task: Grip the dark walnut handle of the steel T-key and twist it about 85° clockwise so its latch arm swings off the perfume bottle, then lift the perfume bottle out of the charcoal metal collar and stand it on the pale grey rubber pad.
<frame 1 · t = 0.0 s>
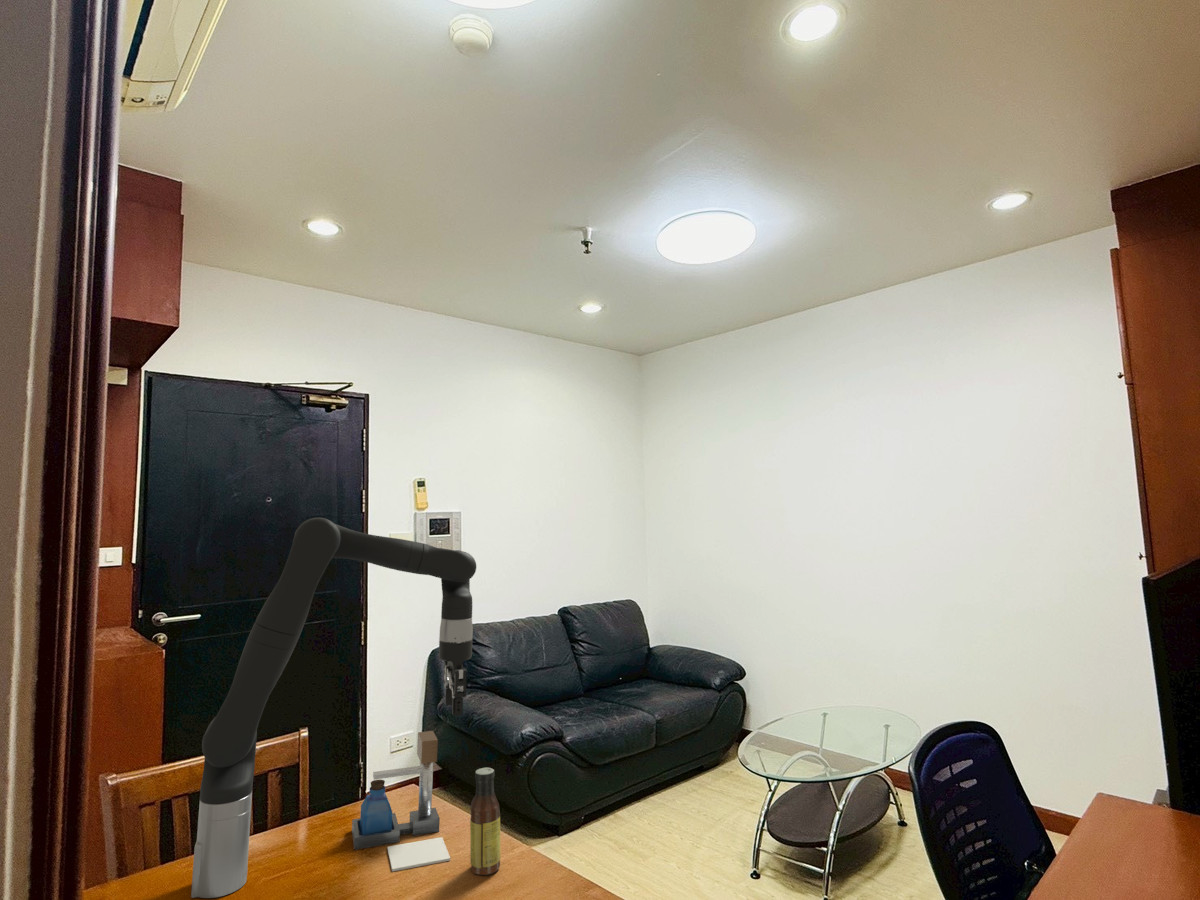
hand: (453, 709, 152), 29 cm above the table, fingers open, 8 cm apart
sauce bottle: (484, 870, 139), on the table
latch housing: (375, 836, 152), on the table
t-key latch: (404, 777, 156), point 12 cm above the table, hinge at 0.0°
perfume bottle: (375, 837, 152), resting in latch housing
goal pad: (418, 854, 144), on the table
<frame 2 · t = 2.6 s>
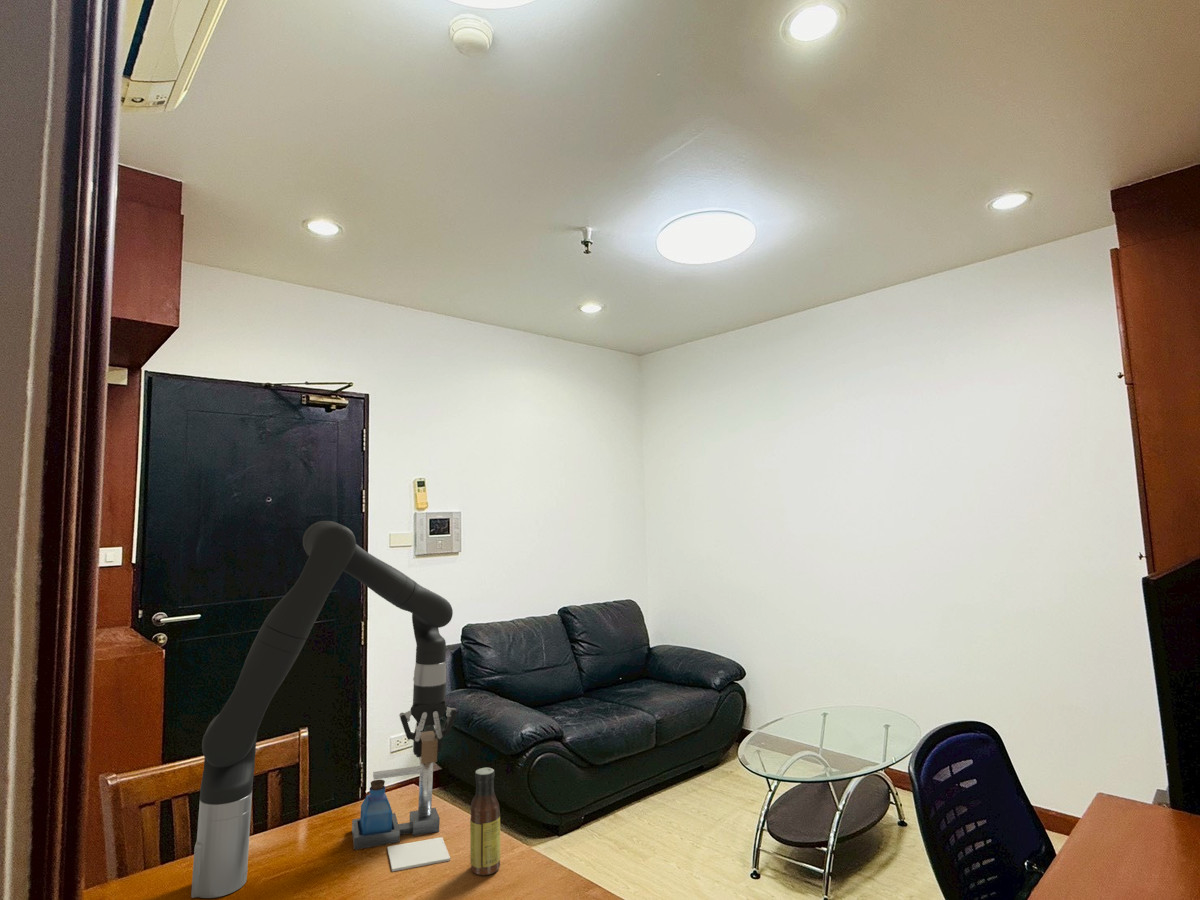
hand: (427, 754, 158), 17 cm above the table, fingers closed on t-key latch, 3 cm apart
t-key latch: (404, 777, 156), point 12 cm above the table, hinge at 0.0°, touching gripper
everything else where it was.
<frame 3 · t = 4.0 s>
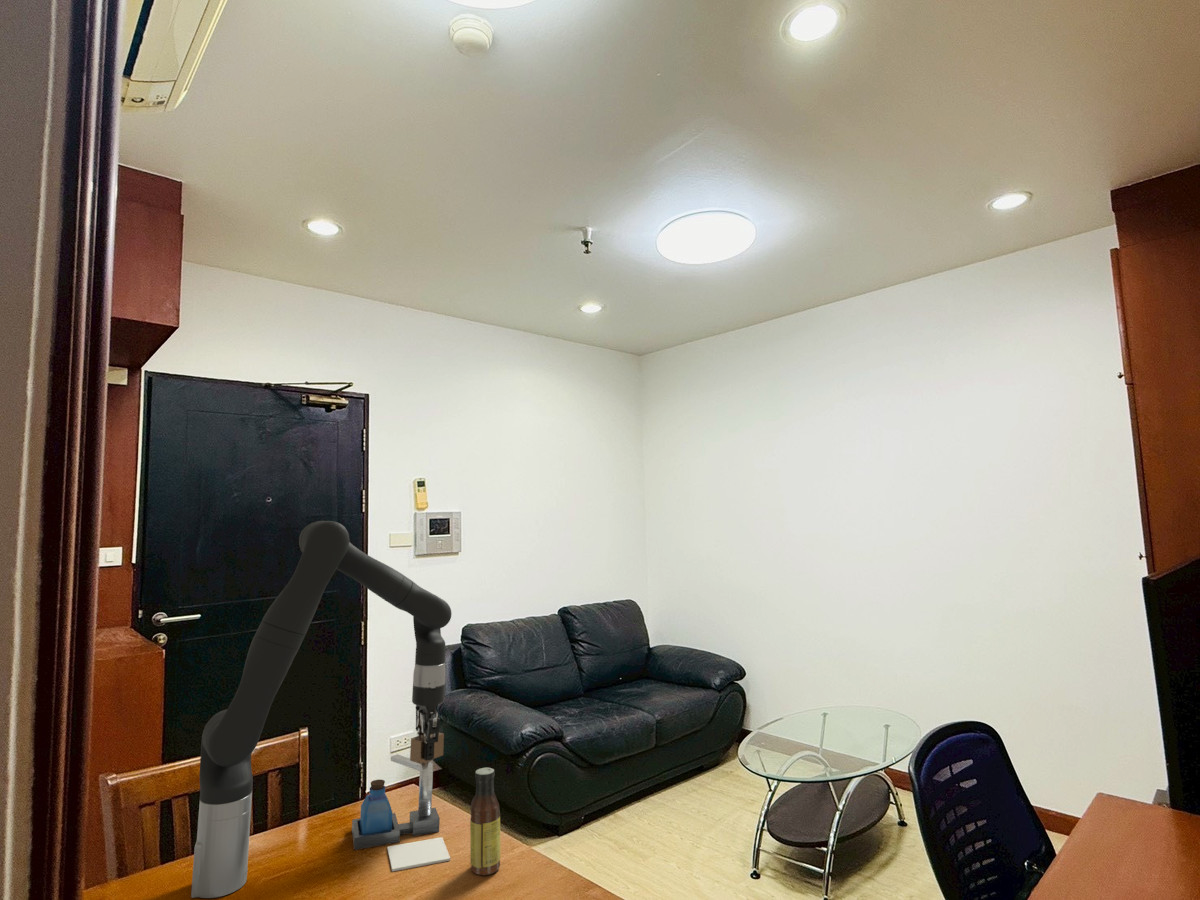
hand: (425, 755, 158), 17 cm above the table, fingers closed on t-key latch, 5 cm apart
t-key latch: (412, 769, 160), point 12 cm above the table, hinge at -58.1°, touching gripper
everything else where it was.
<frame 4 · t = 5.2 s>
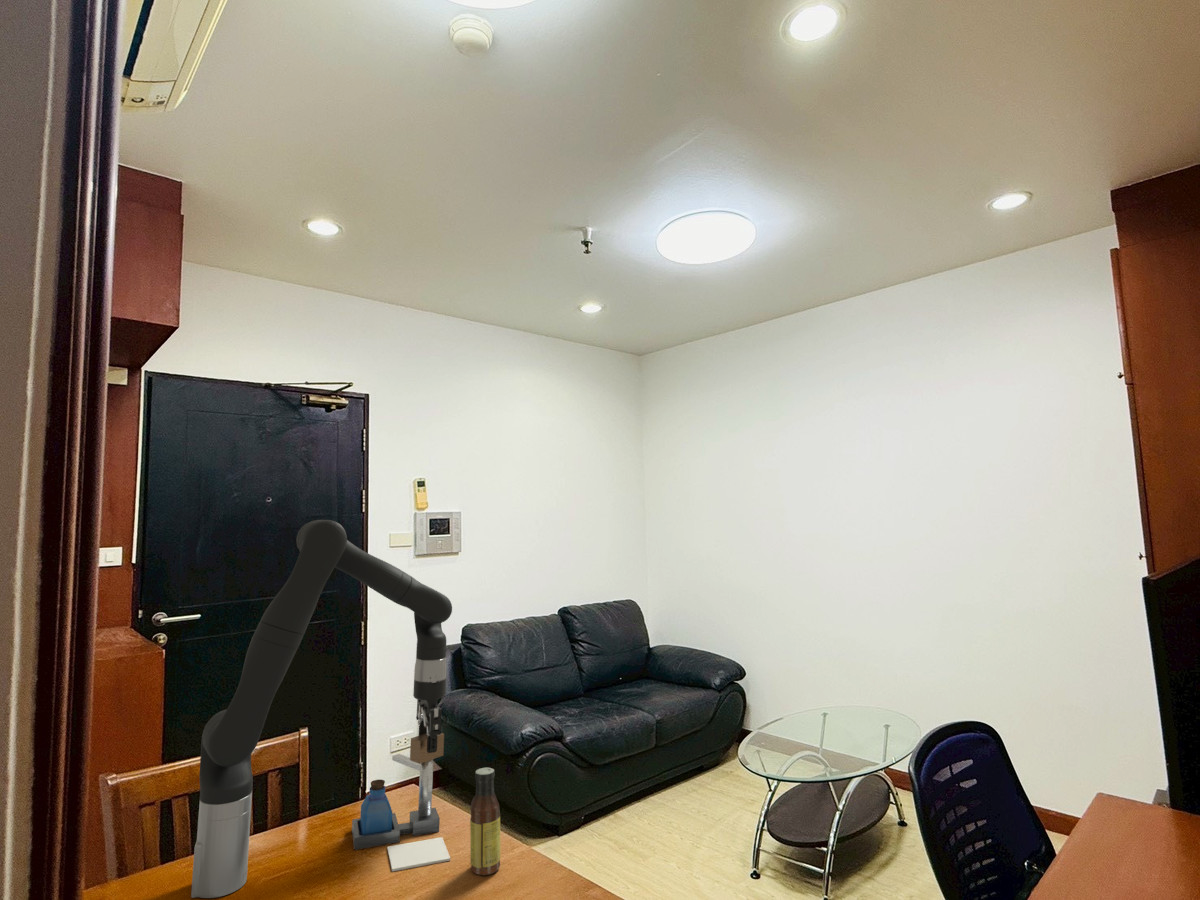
hand: (427, 746, 158), 19 cm above the table, fingers open, 8 cm apart
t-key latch: (412, 769, 161), point 12 cm above the table, hinge at -60.4°
everything else where it was.
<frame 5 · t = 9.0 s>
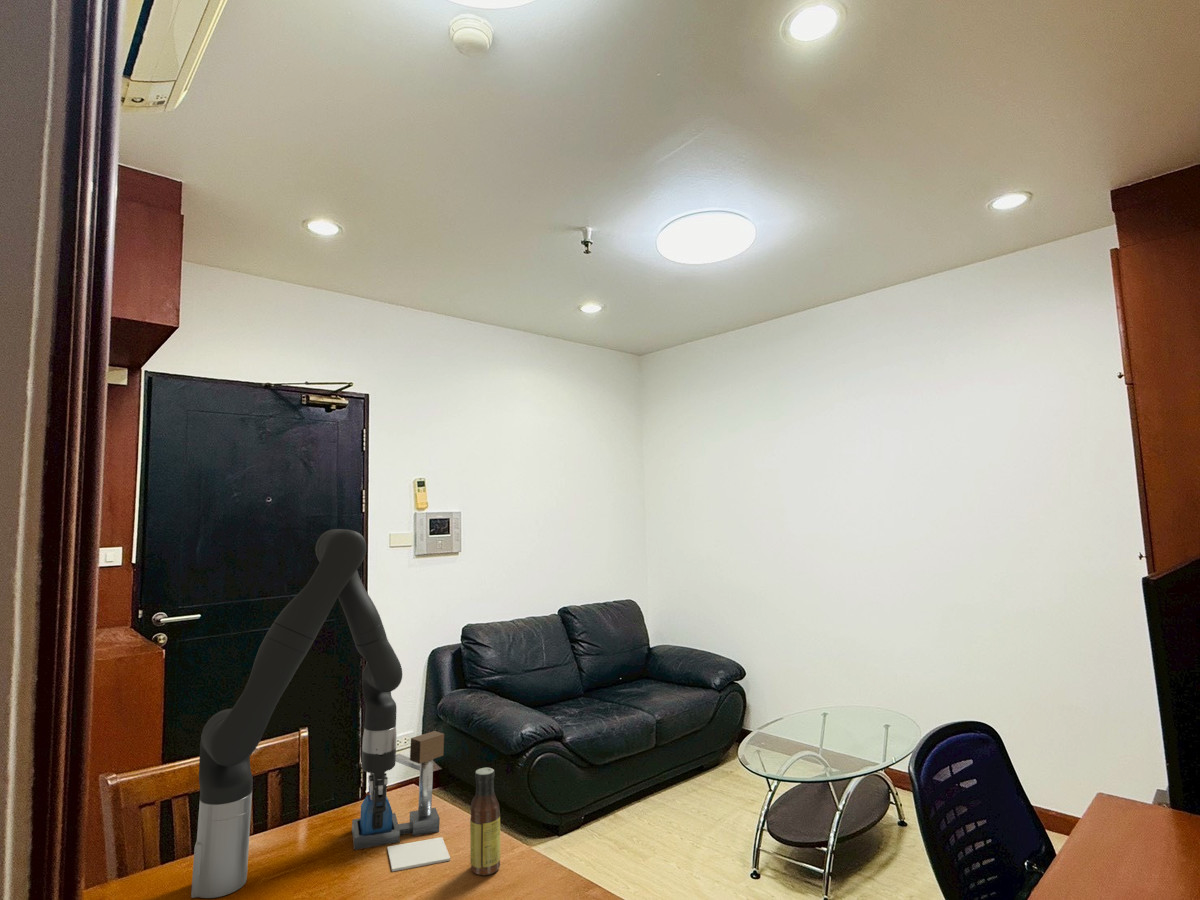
hand: (376, 821, 152), 3 cm above the table, fingers closed on perfume bottle, 6 cm apart
perfume bottle: (375, 837, 152), resting in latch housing, touching gripper
everything else where it was.
when the fingers open (5 cm above the table, at t = 16.5 s): perfume bottle drops 1 cm, resting on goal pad.
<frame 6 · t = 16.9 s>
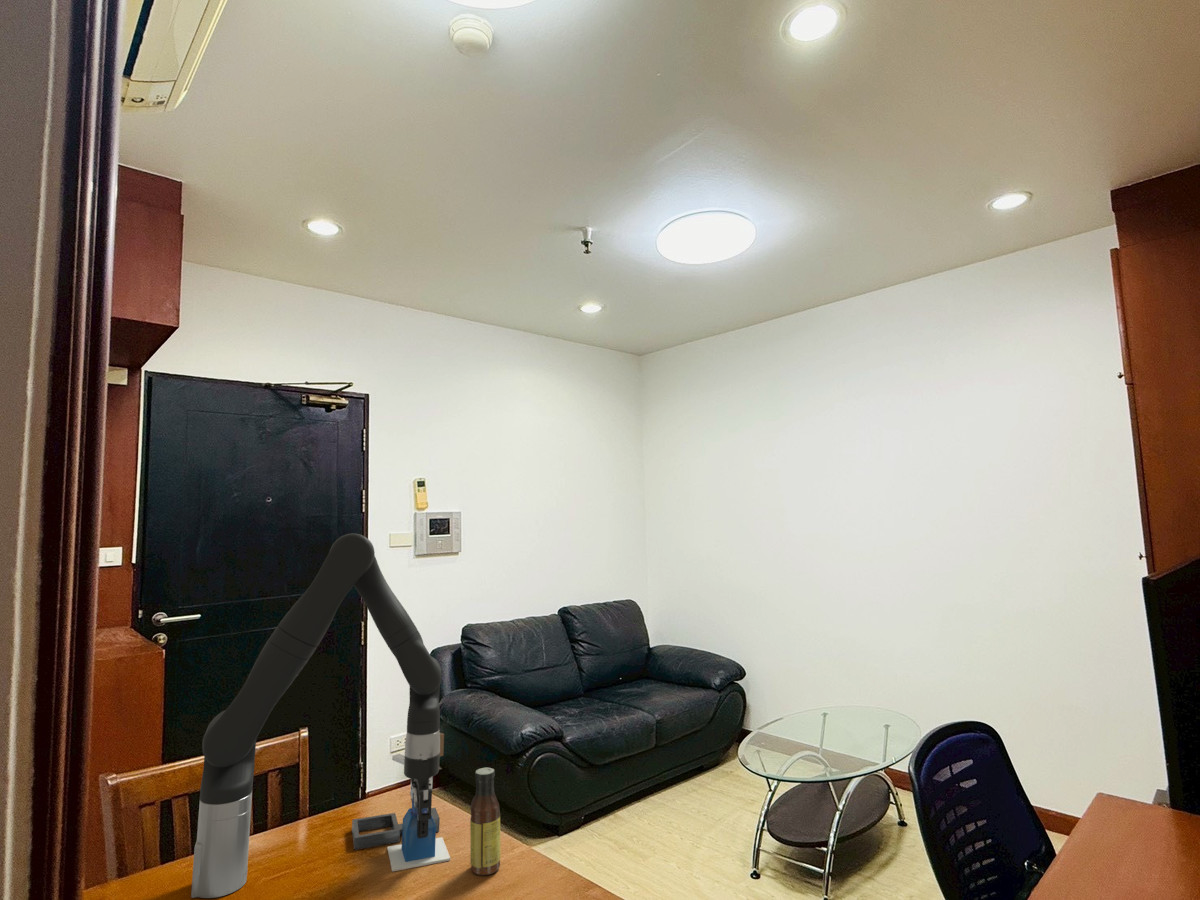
hand: (419, 828, 145), 5 cm above the table, fingers open, 8 cm apart
perfume bottle: (418, 853, 144), resting on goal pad
everything else where it was.
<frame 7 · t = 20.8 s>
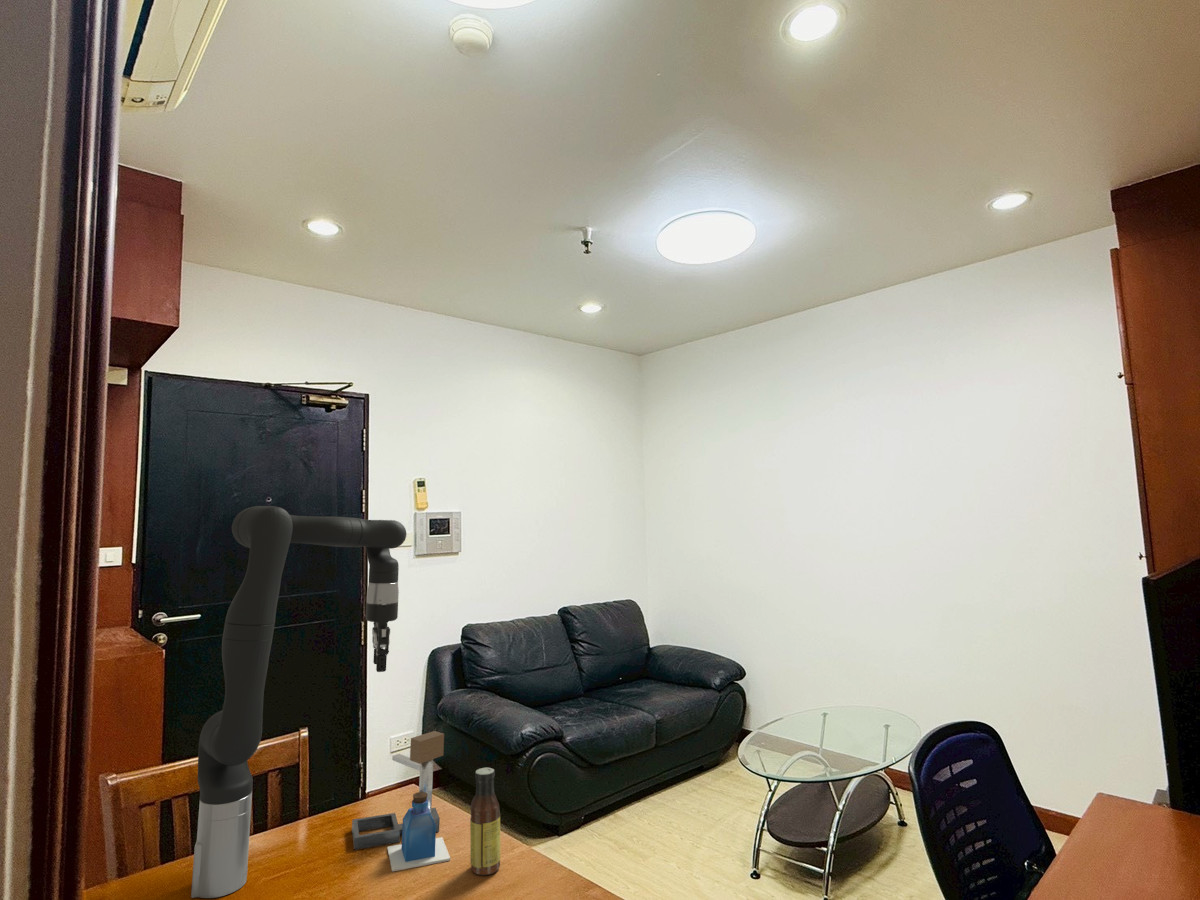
hand: (379, 667, 163), 36 cm above the table, fingers open, 8 cm apart
nothing on the table moved.
at the end: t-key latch at -60° (first picture: +0°); perfume bottle inside the target area on the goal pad (0.1 cm from its centre), point 0.3 cm above the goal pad's base; perfume bottle tilted 0° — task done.
